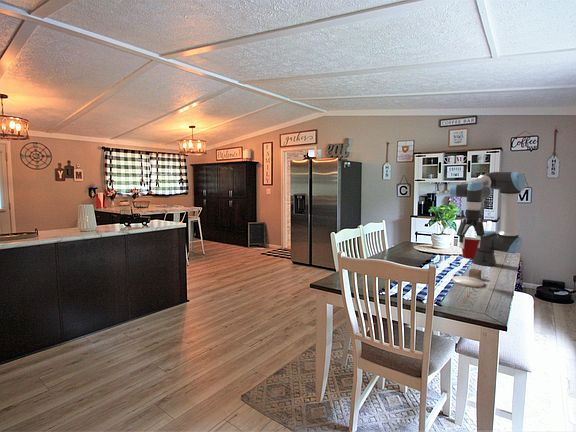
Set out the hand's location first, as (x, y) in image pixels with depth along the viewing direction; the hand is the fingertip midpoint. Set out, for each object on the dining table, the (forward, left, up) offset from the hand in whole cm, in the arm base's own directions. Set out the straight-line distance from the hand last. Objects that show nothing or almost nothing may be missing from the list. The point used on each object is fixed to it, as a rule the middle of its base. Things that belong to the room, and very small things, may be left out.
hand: (469, 247), depth 195 cm
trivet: (0, +1, -20) cm, 20 cm away
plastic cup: (0, 0, -6) cm, 6 cm away
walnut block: (-12, -5, -21) cm, 24 cm away
